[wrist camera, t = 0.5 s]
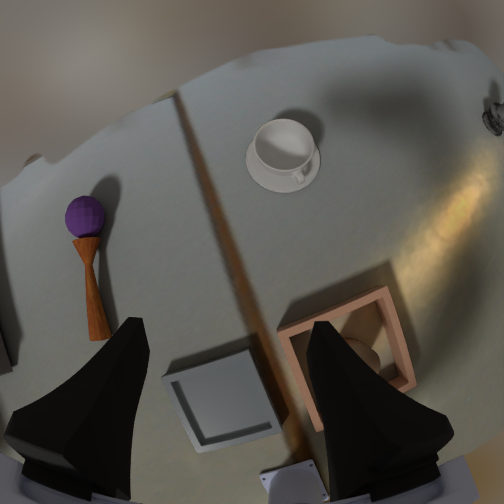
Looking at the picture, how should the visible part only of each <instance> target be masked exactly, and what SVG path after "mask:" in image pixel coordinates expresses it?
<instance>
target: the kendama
mask: <svg viewBox="0 0 504 504" xmlns="http://www.w3.org/2000/svg"><path fill="white" fill-rule="evenodd" d="M104 220H105V216H104V210H103V208H102V206H101V204H100V202H99V201H97V200H96V199H95V198H93V197H90V196H81V197H78V198H76V199H74V200H73V201H72V202H71V203H70V204H69V206H68V208H67V211H66V214H65V223H66V226H67V228H68V230H69V231H70V232H71V233H72V234H73V235H74V236H75V237H78V238H80V239H76V240H73V241H72V242H73V244H74V246H75V248H76V250H77V251H78V253H79V255H80V257H81V259H82V261H83V262H84V264H85V280H86V302H87V316H88V327H89V337H90V341H100V340H105V339H109V338H111V337H112V335H111V332H110V329H109V326H108V322H107V319H106V316H105V312H104V309H103V305H102V301H101V298H100V294H99V290H98V286H97V282H96V278H95V274H94V269H93V265H92V264H93V261H94V258H95V254H96V251H97V248H98V245H99V241H100V238H99V237H92V236H94V235H96V234H97V233H98V232H99V231H100V229H101V228H102V226H103V223H104Z"/></svg>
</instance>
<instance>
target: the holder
mask: <svg viewBox="0 0 504 504" xmlns="http://www.w3.org/2000/svg"><path fill="white" fill-rule="evenodd" d="M373 301H375V302H376V305H377V307H378V310H379V313H380V316H381V319H382V322H383V325H384V328H385V331H386V334H387V338H388V341H389V344H390V347H391V350H392V354H393V357H394V361H395V364H396V367H397V371H398V375H399V376H398V377H396V378H394V379H392V380H390V381H388V383H389V384H391V385H392V386H393V387H395V388H396V389H398V390H399V391H401V392H402V393H405V392H406V391H408V390H410V389H412V388H414V387H415V386H417V383H416V378H415V375H414V371H413V367H412V363H411V359H410V356H409V352H408V349H407V345H406V342H405V338H404V335H403V332H402V328H401V325H400V322H399V319H398V316H397V313H396V310H395V307H394V304H393V301H392V298H391V295H390V292H389V289H388V286H376V287H374V288H372V289H370V290H367V291H365V292H363V293H361V294H359V295H356V296H354V297H352V298H350V299H347V300H345V301H343V302H340V303H338V304H336V305H333V306H331V307H329V308H326V309H324V310H322V311H319V312H317V313H314V314H312V315H309V316H307V317H305V318H302V319H300V320H297V321H295V322H292V323H289V324H287V325H284V326H282V327H279V328H277V333H278V336H279V338H280V341H281V343H282V346H283V349H284V351H285V354H286V356H287V359H288V361H289V364H290V367H291V369H292V372H293V374H294V377H295V379H296V382H297V384H298V387H299V389H300V392H301V395H302V397H303V400H304V402H305V405H306V407H307V410H308V412H309V415H310V417H311V420H312V423H313V425H314V428H315V430H316V432H319V431H321V430H324V428H323V422H322V418H321V414H320V412H317V409H316V406H315V404H314V401H313V398H312V396H311V393H310V391H309V388H308V385H307V383H306V380H305V378H304V375H303V372H302V370H301V367H300V365H299V362H298V359H297V357H296V354H295V352H294V349H293V346H292V344H291V341H290V339H289V337H291V336H294V335H296V334H299V333H301V332H304V331H306V330H309V329H311V328H313V325H314V321H330V320H333V319H335V318H337V317H340V316H342V315H344V314H347V313H349V312H351V311H353V310H355V309H358V308H360V307H362V306H364V305H366V304H369V303H371V302H373Z"/></svg>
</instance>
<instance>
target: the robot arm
mask: <svg viewBox="0 0 504 504" xmlns="http://www.w3.org/2000/svg"><path fill="white" fill-rule="evenodd" d="M149 354H150V349H149V345H148V341H147V337H146V333H145V328H144V324H143V319H142V318H137V317H128V318H127V319H126V320H125V322H124V323H123V324H122V325H121V326H120V327H119V329H118V330H117V331H116V332H115V333H114V334H113V336H112V337H111V338H110V339H109V340H108V341H107V342H106V344H105V345H104V346H103V347H102V348H101V349H100V350H99V351H98V352H97V353H96V354H95V355H94V356H93V357H92V358H91V359H90V360H89V361H88V362H87V363H86V364H85V365H84V366H83V367H82V368H81V369H80V370H79V371H78V372H77V373H76V374H74V375H73V376H72V377H71V378H70V379H68V380H67V381H66V382H64V383H63V384H61V385H60V386H59V387H57V388H56V389H55V390H53V391H52V392H50V393H48V394H47V395H45V396H44V397H42V398H40V399H38V400H37V401H35V402H33V403H31V404H29V405H27V406H25V407H23V408H20V409H18V410H16V411H14V412H13V414H12V416H11V418H10V421H9V423H8V426H7V428H6V431H5V433H4V439H5V440H6V442H7V443H8V444H9V445H10V446H11V447H12V448H13V449H14V450H15V451H16V452H18V453H19V454H20V455H21V456H22V457H23V458H25V462H24V464H22V463H20V462H19V461H17V460H15V459H13V458H11V457H9V456H7V455H5V454H3V453H1V452H0V504H141V503H136V502H131V501H129V500H130V499H131V493H130V466H131V448H132V437H133V428H134V421H135V416H136V411H137V407H138V404H139V400H140V396H141V392H142V389H143V385H144V381H145V377H146V374H147V368H148V362H149ZM306 356H307V363H308V370H309V375H310V379H311V382H312V386H313V389H314V393H315V396H316V400H317V403H318V407H319V410H320V414H321V418H322V422H323V428H324V434H325V441H326V449H327V457H328V468H329V483H330V502H329V503H323V501H326V500H328V499H329V496H328V494H327V492H326V489H325V487H324V485H323V482H322V480H321V478H320V475H319V473H318V471H317V468H316V466H315V464H314V461H313V460H312V459H309V460H306V461H303V462H300V463H297V464H293V465H290V466H287V467H283V468H280V469H276V470H273V471H269V472H265V473H261V474H260V475H259V478H260V479H261V481H262V483H263V485H264V487H265V489H266V490H267V492H268V494H269V498H268V504H471V503H472V502H474V501H476V500H477V499H479V497H480V496H479V493H478V490H477V488H476V485H475V482H474V480H473V477H472V475H471V472H470V470H469V467H468V465H467V462H466V460H465V458H464V455H461V456H459V457H457V458H454V459H452V460H450V461H448V462H446V463H444V464H442V465H440V466H437V464H436V462H437V461H438V460H439V457H438V455H437V452H438V451H439V450H440V449H442V448H443V447H444V446H445V445H446V444H447V443H448V442H449V441H450V440H451V439H452V437H453V436H454V431H453V428H452V426H451V424H450V422H449V420H448V418H447V416H446V415H444V414H441V413H439V412H437V411H434V410H432V409H430V408H428V407H426V406H424V405H422V404H420V403H418V402H417V401H415V400H413V399H411V398H410V397H408V396H407V395H405V394H404V393H402V392H401V391H399V390H398V389H396V388H395V387H393V386H392V385H391V384H389V383H388V382H387V381H386V380H384V379H383V378H382V377H381V376H380V375H378V374H377V373H376V372H375V371H374V370H373V369H372V368H371V367H370V366H369V365H368V364H367V363H365V362H364V361H363V360H362V359H361V357H360V356H359V355H358V354H357V353H356V352H355V351H354V350H353V349H352V348H351V347H350V345H349V344H348V343H347V342H346V341H345V340H344V339H343V337H342V336H341V335H340V334H339V333H338V332H337V330H336V329H335V328H334V327H333V326H332V324H331V323H330V322H329V321H314V325H313V329H312V333H311V337H310V341H309V345H308V349H307V353H306ZM310 464H312V465H311V466H310ZM263 478H265V479H263ZM323 494H324V495H323Z"/></svg>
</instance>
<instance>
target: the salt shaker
mask: <svg viewBox="0 0 504 504" xmlns="http://www.w3.org/2000/svg"><path fill="white" fill-rule="evenodd" d="M482 117H483V122H484V124H485V126H486V127H487V129H488V130H489V131H490V132H491V133H492V134H493V135H495V136H500V135H501V134H502V131H504V103H503V104H502V105H501V104H499V103H497V102H492V103H491V106H490V109H489V112H484V113H483V116H482Z"/></svg>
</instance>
